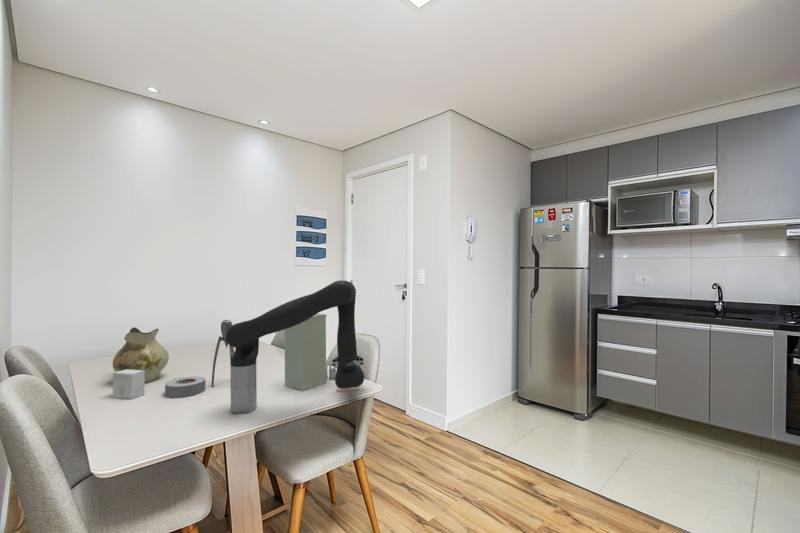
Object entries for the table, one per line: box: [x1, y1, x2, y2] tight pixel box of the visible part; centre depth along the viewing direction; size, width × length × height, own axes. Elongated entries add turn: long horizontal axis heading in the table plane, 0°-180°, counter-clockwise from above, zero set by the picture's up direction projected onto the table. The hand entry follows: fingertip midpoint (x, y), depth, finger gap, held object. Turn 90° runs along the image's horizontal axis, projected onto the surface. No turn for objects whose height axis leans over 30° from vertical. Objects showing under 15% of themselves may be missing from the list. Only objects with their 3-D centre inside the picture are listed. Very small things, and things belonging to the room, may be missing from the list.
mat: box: [335, 386, 360, 392], centre depth 173 cm, size 16×10×1 cm, turn 9°
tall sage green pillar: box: [284, 313, 328, 392], centre depth 174 cm, size 13×15×32 cm
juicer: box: [211, 319, 235, 388], centre depth 174 cm, size 10×11×30 cm
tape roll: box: [164, 375, 206, 399], centre depth 165 cm, size 15×15×5 cm
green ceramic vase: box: [112, 327, 170, 383], centre depth 183 cm, size 22×24×25 cm
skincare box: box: [112, 369, 146, 400], centre depth 160 cm, size 10×6×10 cm, turn 74°
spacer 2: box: [328, 365, 337, 381], centre depth 183 cm, size 3×3×6 cm
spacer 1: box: [326, 364, 329, 380], centre depth 184 cm, size 3×3×6 cm
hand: (347, 357), depth 172 cm, fingers closed on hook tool, 4 cm apart
